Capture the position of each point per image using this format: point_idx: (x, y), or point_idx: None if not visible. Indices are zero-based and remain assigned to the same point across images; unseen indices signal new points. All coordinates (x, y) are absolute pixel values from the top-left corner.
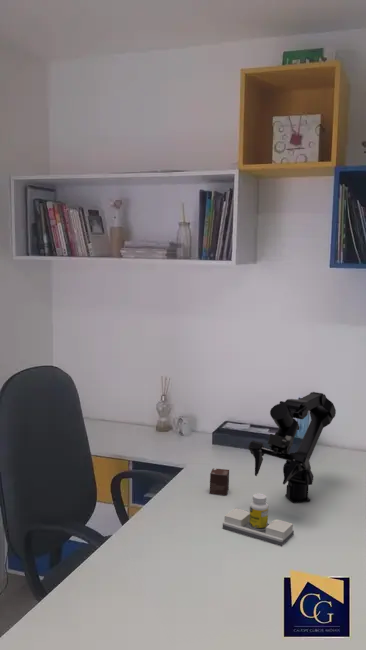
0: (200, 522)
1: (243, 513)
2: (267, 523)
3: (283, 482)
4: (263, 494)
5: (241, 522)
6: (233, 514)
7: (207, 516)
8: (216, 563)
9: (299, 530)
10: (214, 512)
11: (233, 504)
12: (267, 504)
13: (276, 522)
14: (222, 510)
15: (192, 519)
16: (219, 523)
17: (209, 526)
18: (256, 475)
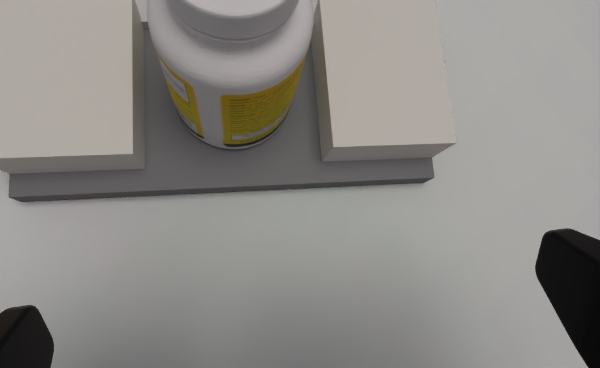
0: (528, 22)
1: (365, 98)
2: (172, 99)
3: (17, 311)
4: (218, 7)
5: (316, 13)
6: (405, 45)
7: (551, 105)
8: None
9: (9, 290)
10: (559, 175)
11: (559, 361)
12: (158, 27)
13: (102, 105)
14: (547, 230)
15: (577, 28)
16: (453, 68)
17: (467, 8)
18: (540, 265)
